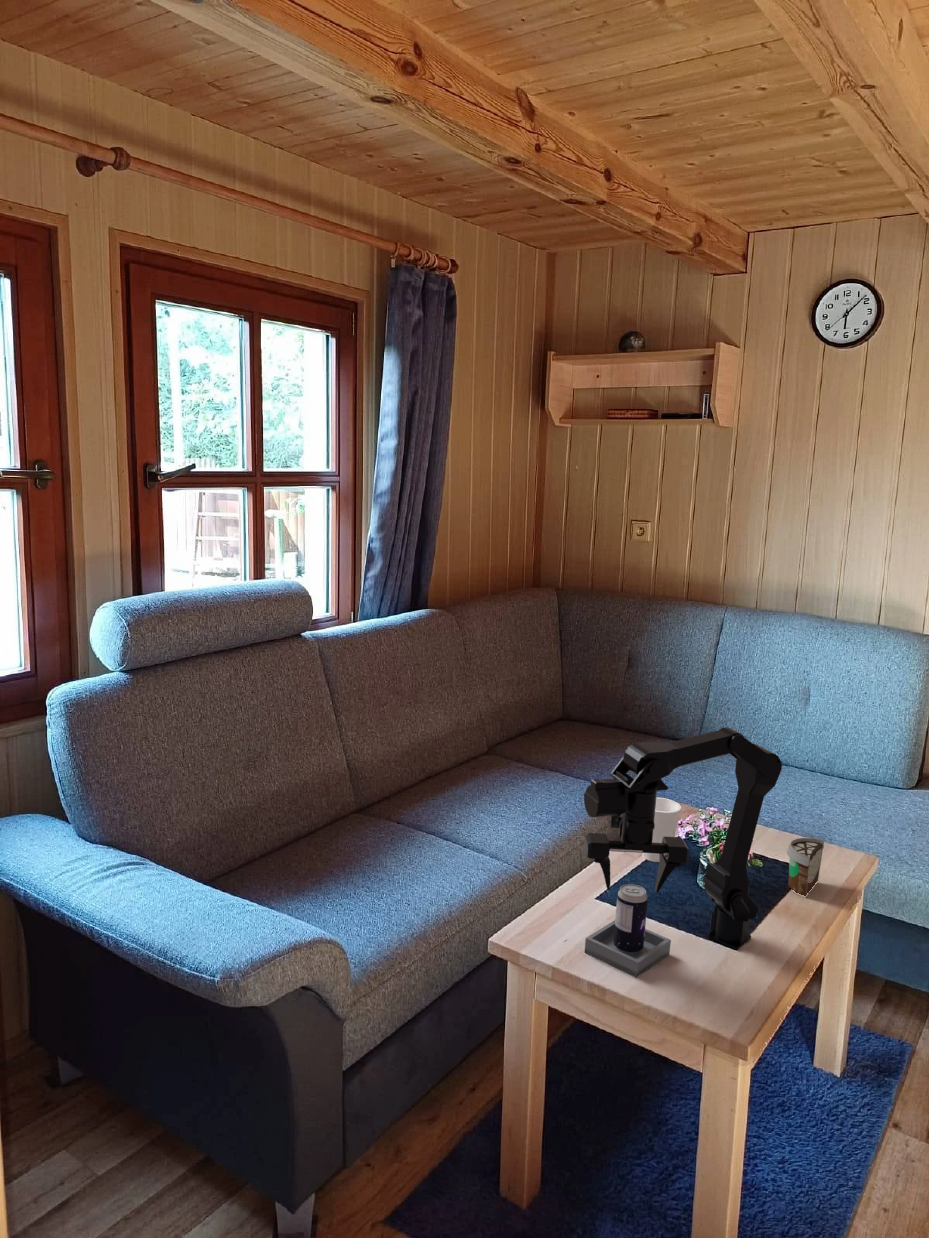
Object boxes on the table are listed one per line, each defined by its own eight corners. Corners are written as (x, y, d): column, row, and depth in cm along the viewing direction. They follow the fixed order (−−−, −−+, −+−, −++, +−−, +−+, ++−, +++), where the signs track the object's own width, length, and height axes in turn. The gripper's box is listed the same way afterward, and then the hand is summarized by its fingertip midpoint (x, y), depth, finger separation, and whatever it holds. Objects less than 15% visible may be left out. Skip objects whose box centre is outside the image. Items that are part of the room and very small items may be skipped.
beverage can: (642, 958, 173) (648, 899, 171) (612, 953, 174) (617, 894, 172) (643, 943, 178) (648, 885, 176) (613, 938, 180) (618, 881, 177)
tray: (669, 954, 177) (670, 939, 176) (636, 977, 168) (638, 962, 168) (618, 931, 184) (619, 917, 184) (584, 952, 176) (585, 937, 175)
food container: (792, 872, 215) (797, 832, 213) (819, 880, 211) (824, 839, 209) (775, 891, 205) (780, 849, 203) (803, 900, 201) (809, 857, 199)
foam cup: (629, 857, 218) (634, 805, 216) (644, 844, 226) (649, 794, 224) (667, 868, 213) (672, 815, 211) (682, 855, 221) (687, 804, 218)
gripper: (680, 798, 179) (672, 873, 182) (583, 793, 179) (578, 868, 182) (693, 821, 168) (685, 900, 171) (591, 816, 168) (584, 895, 171)
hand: (632, 889), depth 174 cm, fingers open, 9 cm apart
